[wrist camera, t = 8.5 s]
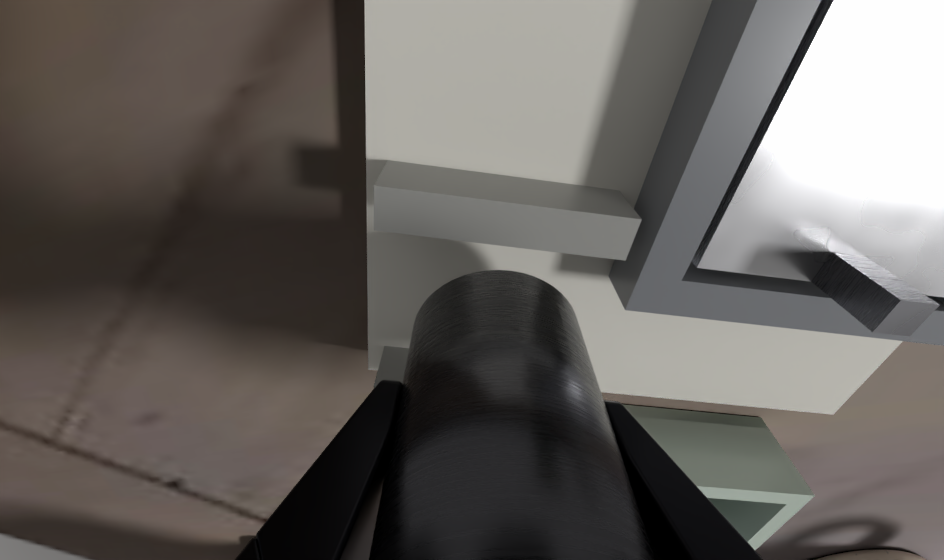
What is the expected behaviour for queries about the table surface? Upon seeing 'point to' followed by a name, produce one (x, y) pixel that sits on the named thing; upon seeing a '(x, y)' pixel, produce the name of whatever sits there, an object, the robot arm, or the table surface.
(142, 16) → the table surface
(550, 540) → the cell
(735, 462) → the cup
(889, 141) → the cradle
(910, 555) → the teacup with lid
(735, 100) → the white square base board
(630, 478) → the robot arm
